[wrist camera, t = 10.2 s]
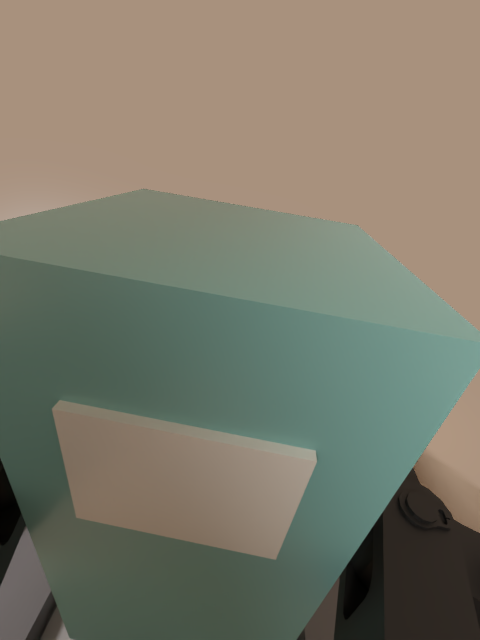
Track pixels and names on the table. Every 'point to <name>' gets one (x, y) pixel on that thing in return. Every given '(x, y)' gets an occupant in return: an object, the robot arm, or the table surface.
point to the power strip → (44, 617)
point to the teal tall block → (210, 407)
